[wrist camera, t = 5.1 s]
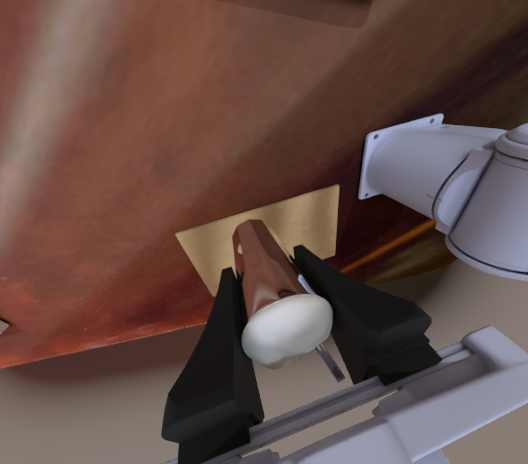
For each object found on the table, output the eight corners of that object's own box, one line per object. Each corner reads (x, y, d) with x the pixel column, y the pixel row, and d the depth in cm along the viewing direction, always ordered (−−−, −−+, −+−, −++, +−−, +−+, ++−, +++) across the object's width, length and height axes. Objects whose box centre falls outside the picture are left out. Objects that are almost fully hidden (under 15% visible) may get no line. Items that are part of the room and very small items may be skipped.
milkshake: (258, 267, 18) (306, 402, 10) (211, 241, 14) (225, 407, 7) (293, 235, 16) (380, 356, 9) (251, 199, 13) (325, 335, 6)
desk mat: (337, 183, 23) (339, 185, 23) (333, 253, 30) (335, 255, 30) (175, 232, 21) (175, 234, 21) (212, 294, 28) (212, 296, 28)
